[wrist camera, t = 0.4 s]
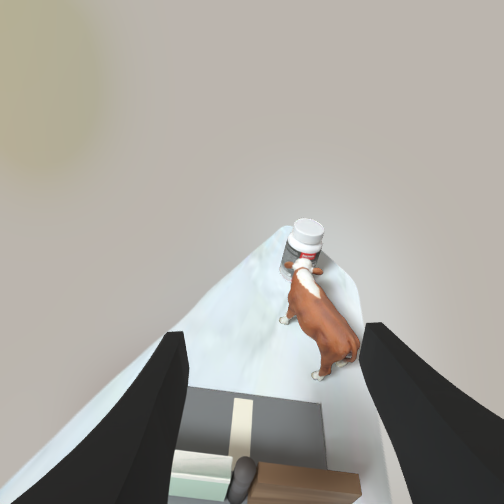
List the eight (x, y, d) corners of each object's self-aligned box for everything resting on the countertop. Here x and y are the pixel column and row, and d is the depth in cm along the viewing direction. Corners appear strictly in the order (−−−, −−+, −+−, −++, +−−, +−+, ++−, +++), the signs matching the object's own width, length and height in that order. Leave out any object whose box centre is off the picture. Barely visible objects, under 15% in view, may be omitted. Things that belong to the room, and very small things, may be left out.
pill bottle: (293, 289, 44) (308, 241, 38) (272, 269, 46) (284, 221, 41) (317, 279, 46) (335, 232, 41) (296, 260, 49) (310, 213, 44)
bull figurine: (296, 293, 43) (312, 246, 38) (349, 385, 33) (379, 338, 28) (266, 298, 42) (278, 249, 37) (312, 395, 32) (337, 348, 27)
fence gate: (225, 481, 25) (232, 456, 22) (223, 503, 24) (230, 481, 21) (109, 467, 24) (99, 440, 21) (101, 489, 23) (90, 464, 20)
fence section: (337, 517, 24) (364, 495, 21) (225, 504, 24) (234, 479, 20) (334, 495, 25) (360, 470, 22) (227, 482, 25) (236, 454, 21)
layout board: (342, 624, 20) (344, 623, 20) (121, 601, 20) (121, 601, 19) (319, 405, 31) (320, 403, 31) (177, 386, 31) (177, 385, 30)
